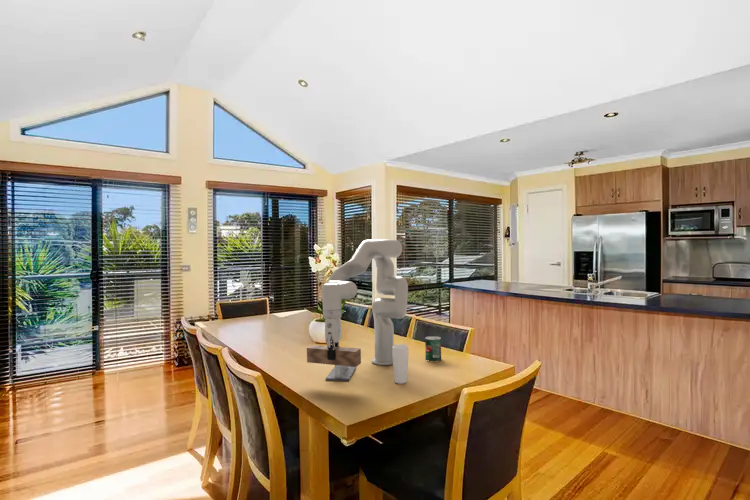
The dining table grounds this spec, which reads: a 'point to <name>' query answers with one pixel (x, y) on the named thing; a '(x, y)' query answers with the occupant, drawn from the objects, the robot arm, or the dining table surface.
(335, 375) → the ridge stand
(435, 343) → the canned tomato
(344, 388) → the dining table surface
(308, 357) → the brown wooden block
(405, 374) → the drinking glass
